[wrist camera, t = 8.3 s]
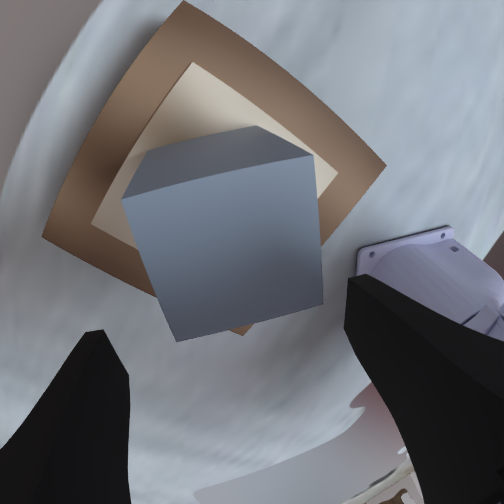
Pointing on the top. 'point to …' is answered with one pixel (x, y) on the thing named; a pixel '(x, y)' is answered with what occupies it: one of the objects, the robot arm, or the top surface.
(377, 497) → the gable box
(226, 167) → the block
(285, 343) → the top surface
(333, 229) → the walnut base
